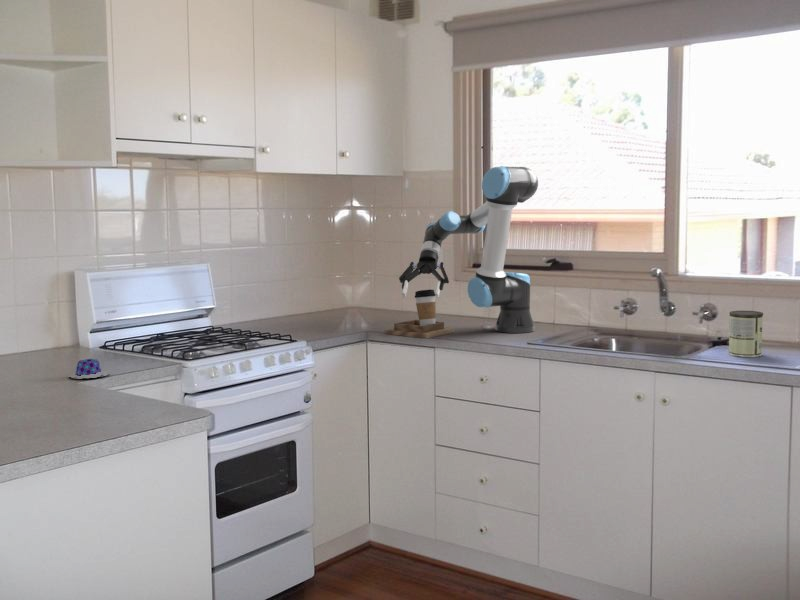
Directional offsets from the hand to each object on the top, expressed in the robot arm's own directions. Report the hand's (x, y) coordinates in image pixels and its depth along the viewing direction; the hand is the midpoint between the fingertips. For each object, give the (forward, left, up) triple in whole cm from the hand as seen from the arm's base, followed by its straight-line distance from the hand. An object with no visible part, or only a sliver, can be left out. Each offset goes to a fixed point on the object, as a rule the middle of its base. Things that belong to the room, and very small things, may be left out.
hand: (420, 295), depth 348 cm
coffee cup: (-5, +1, -13) cm, 14 cm away
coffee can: (-120, -17, -15) cm, 122 cm away
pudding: (+31, +128, -15) cm, 133 cm away
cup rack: (-2, +3, -14) cm, 15 cm away
